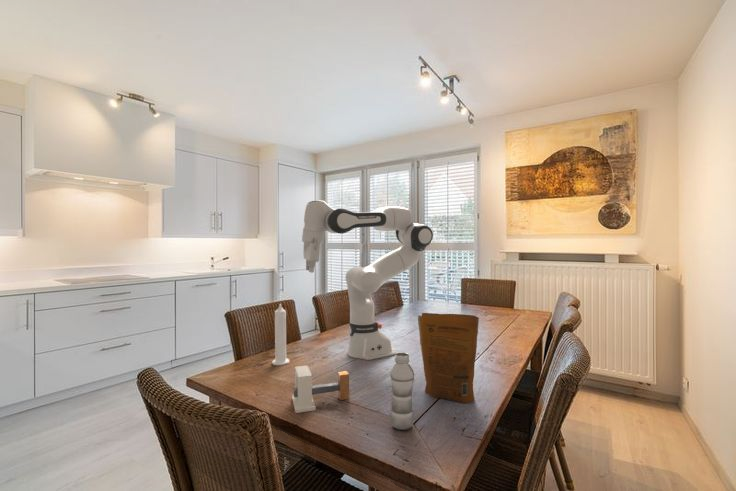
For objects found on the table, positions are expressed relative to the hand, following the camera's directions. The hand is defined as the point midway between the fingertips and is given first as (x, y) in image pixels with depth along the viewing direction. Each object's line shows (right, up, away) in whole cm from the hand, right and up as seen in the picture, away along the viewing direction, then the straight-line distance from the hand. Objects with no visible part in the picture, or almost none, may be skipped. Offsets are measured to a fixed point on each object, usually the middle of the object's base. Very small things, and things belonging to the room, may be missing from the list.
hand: (309, 271), depth 145 cm
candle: (-12, -39, 0) cm, 40 cm away
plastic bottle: (+34, -39, -50) cm, 72 cm away
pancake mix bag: (+51, -39, -33) cm, 72 cm away
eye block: (+4, -39, -36) cm, 54 cm away
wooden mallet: (+10, -39, -35) cm, 53 cm away
